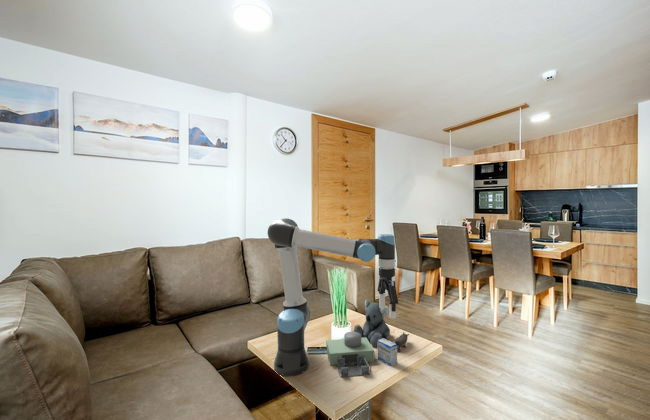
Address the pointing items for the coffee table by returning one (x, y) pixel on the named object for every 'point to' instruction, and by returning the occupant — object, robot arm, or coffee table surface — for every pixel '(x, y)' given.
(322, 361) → the coffee table surface
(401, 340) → the rhino figurine
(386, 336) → the koala plush
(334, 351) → the sage green box
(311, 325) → the coffee table surface
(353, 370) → the chute bracket
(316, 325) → the coffee table surface
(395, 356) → the medicine box
